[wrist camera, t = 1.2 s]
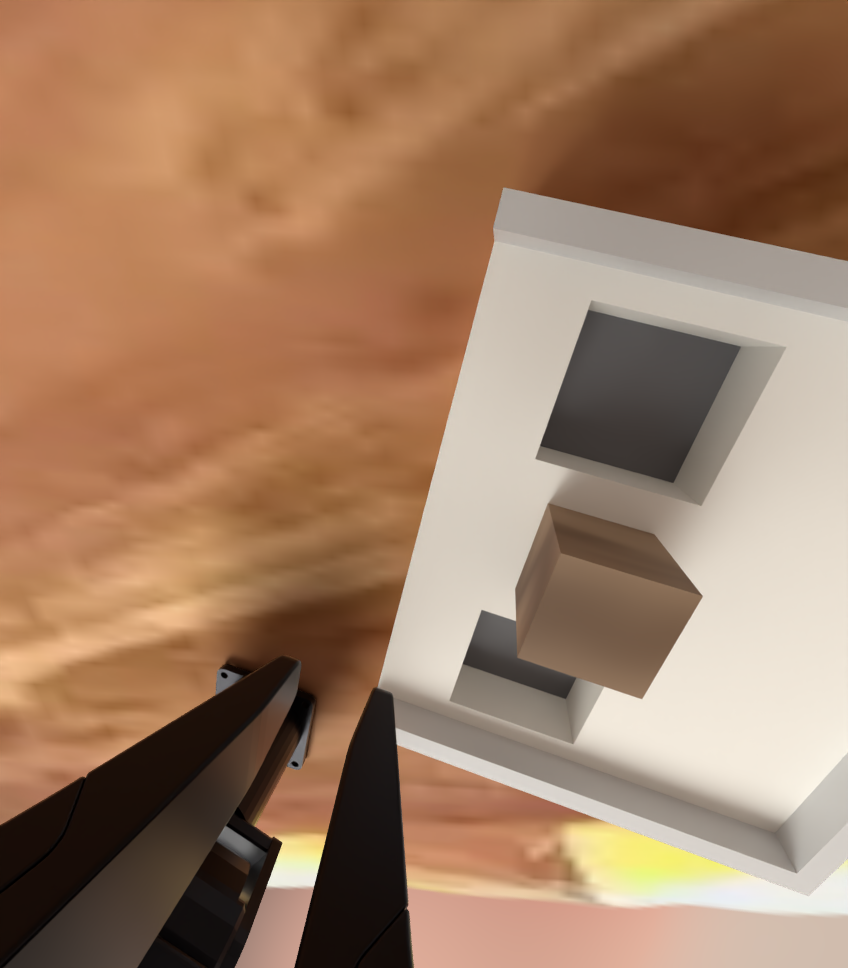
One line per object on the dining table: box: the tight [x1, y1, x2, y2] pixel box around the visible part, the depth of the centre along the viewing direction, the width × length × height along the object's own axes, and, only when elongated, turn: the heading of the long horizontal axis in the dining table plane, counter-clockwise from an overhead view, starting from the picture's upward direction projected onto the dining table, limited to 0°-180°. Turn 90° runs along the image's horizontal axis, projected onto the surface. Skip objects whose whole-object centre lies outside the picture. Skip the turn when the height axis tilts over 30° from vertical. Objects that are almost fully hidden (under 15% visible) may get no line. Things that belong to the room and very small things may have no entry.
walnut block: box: [515, 503, 703, 699], centre depth 14 cm, size 4×4×4 cm
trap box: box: [378, 188, 848, 896], centre depth 16 cm, size 22×20×4 cm
